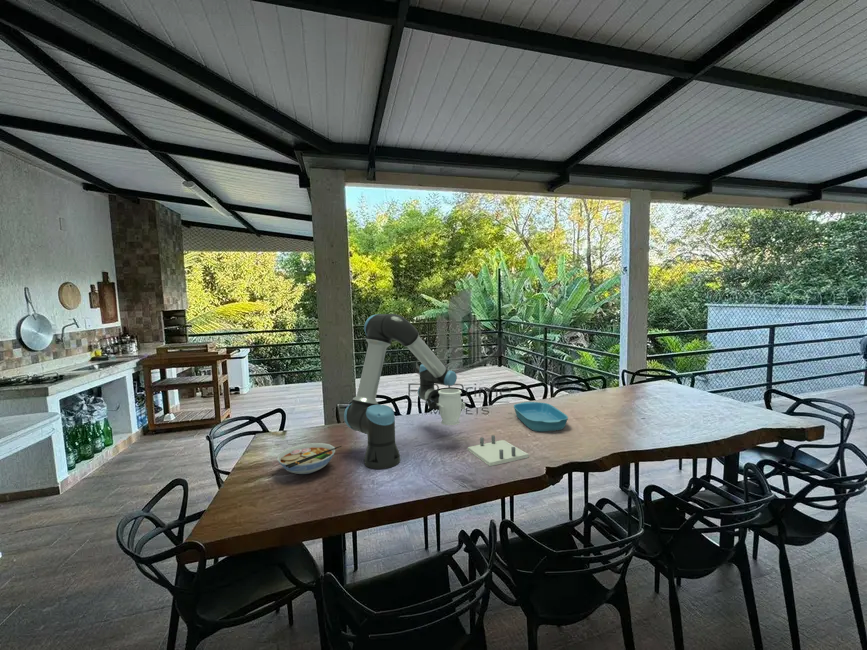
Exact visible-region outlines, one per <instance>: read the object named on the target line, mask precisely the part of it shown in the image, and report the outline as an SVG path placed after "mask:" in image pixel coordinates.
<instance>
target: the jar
mask: <svg viewBox="0 0 867 650" xmlns="http://www.w3.org/2000/svg"><path fill="white" fill-rule="evenodd" d="M437 391H438V393H439V394H440V396H439V404H440V405H442V406H444V413H442V412H440V411H439V414H440V418H441V422H440V423H441V424H442V425H445V426H456V425H459V424H460V423H461V421H460V418H461V413H462V408H461V407H462V401H461V399H462V396H461V394H462V390H461V389H457V388H443V389H440V390H437Z"/></svg>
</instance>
